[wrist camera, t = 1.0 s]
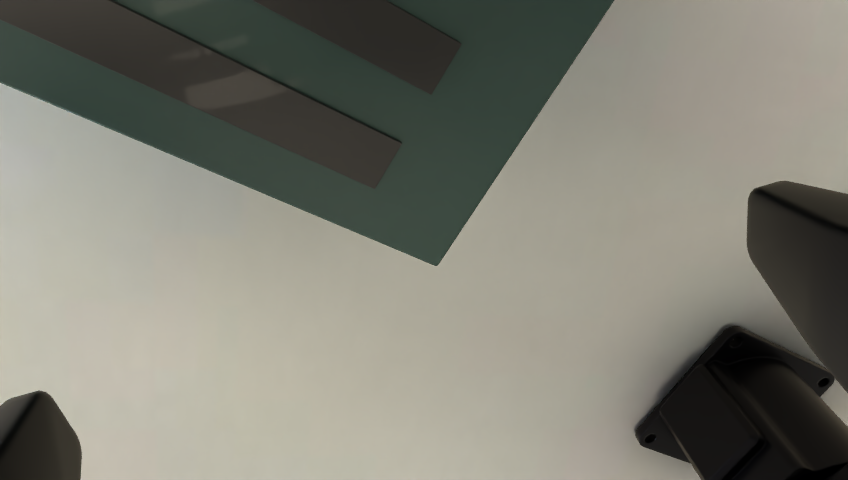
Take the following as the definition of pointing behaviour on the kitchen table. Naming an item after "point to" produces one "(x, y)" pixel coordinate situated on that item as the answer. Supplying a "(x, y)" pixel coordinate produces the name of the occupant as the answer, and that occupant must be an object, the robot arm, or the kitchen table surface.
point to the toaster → (313, 93)
